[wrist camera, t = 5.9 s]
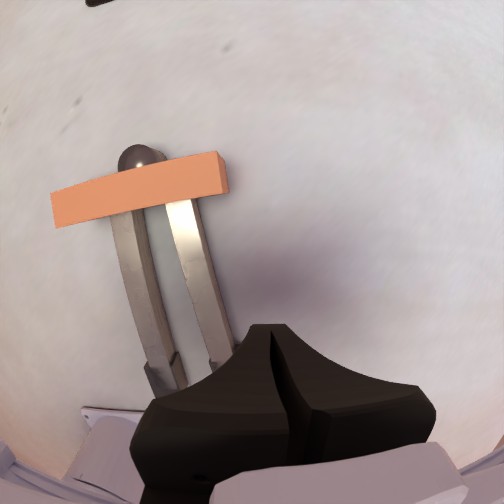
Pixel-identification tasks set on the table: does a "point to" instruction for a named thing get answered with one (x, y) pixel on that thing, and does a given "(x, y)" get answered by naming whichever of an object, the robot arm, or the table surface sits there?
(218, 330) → the tong arm
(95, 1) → the smartphone
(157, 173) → the orange bridge block
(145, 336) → the base
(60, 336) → the table surface
